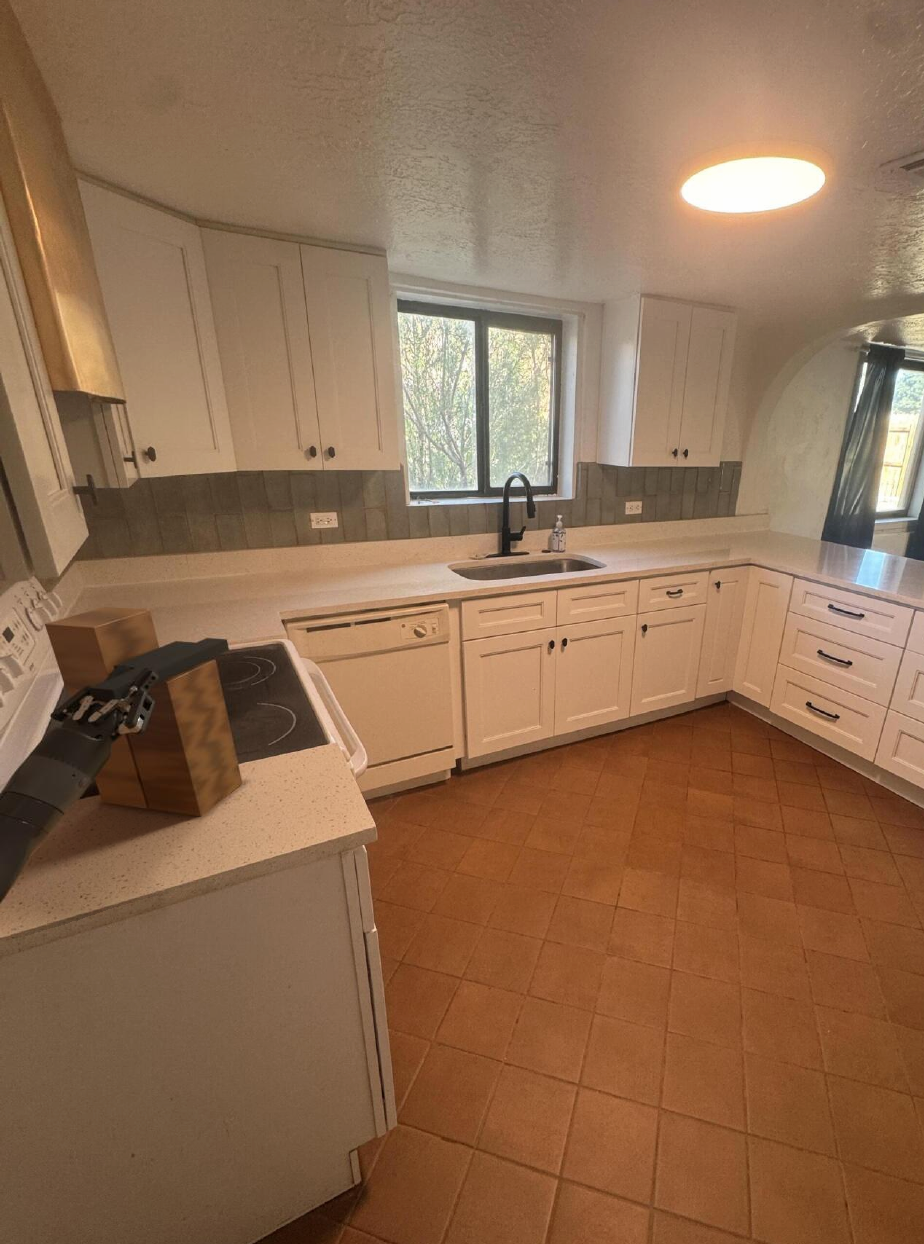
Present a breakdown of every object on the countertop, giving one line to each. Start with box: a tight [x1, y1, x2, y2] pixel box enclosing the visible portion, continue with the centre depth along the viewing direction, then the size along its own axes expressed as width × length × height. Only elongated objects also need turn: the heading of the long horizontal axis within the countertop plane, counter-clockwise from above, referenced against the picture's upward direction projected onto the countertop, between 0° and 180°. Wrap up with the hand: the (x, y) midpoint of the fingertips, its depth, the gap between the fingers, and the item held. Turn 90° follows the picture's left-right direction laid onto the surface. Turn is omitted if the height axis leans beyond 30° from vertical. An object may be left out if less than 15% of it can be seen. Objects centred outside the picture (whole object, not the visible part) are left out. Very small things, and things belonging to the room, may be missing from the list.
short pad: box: [113, 640, 196, 670], centre depth 92 cm, size 12×4×2 cm, turn 169°
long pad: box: [89, 637, 230, 702], centre depth 89 cm, size 22×4×2 cm, turn 168°
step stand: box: [44, 606, 243, 817], centre depth 95 cm, size 10×20×32 cm, turn 79°
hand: (139, 669), depth 84 cm, fingers closed on long pad, 4 cm apart
